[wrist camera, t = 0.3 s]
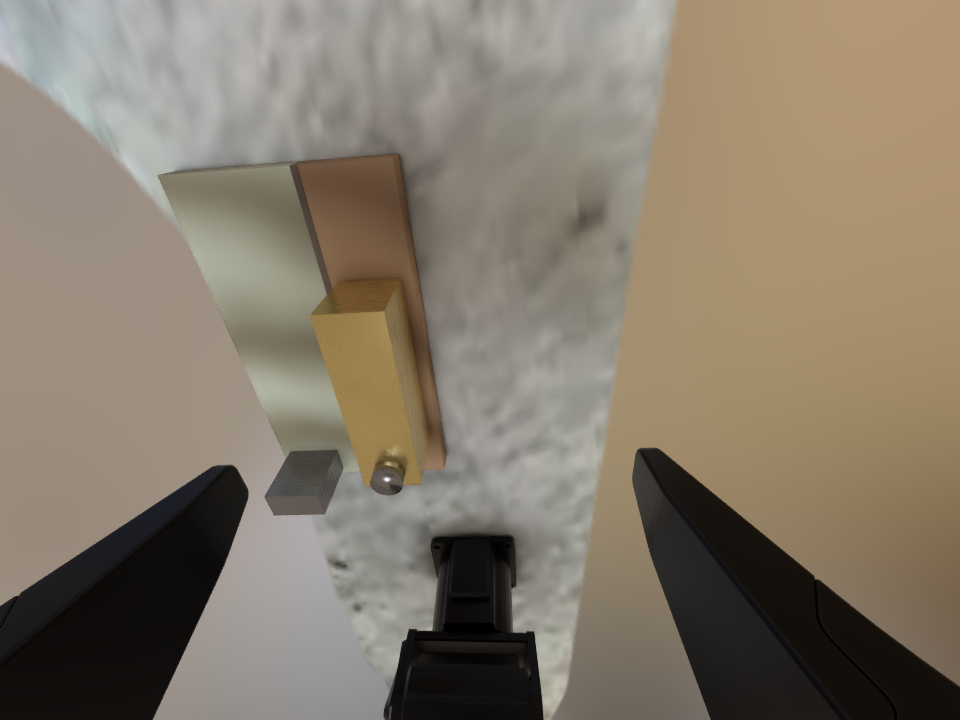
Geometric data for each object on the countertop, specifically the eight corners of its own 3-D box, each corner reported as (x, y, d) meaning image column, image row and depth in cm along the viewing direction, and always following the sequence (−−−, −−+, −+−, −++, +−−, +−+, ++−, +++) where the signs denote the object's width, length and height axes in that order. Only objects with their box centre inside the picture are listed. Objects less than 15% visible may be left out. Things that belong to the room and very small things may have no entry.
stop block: (343, 467, 26) (325, 514, 23) (298, 469, 27) (274, 515, 24) (337, 449, 26) (317, 495, 23) (290, 451, 26) (264, 497, 23)
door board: (446, 455, 27) (444, 469, 26) (300, 459, 28) (292, 474, 27) (398, 154, 18) (392, 157, 17) (176, 171, 18) (156, 175, 17)
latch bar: (430, 437, 24) (419, 497, 21) (380, 439, 25) (361, 498, 21) (400, 278, 19) (379, 320, 15) (337, 281, 19) (301, 324, 16)
